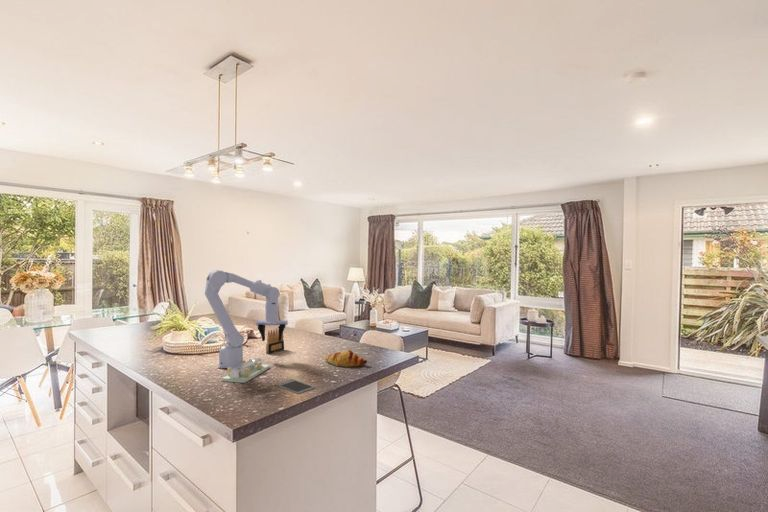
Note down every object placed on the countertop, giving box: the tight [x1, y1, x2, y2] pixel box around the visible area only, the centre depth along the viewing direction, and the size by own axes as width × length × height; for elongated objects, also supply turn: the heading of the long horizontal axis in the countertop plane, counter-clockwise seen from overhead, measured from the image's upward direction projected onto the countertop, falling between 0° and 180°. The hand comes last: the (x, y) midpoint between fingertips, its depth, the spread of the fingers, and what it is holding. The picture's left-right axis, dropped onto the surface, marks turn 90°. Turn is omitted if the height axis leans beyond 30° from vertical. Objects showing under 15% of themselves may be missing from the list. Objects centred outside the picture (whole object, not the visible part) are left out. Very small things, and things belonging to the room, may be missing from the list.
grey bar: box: [230, 357, 262, 379], centre depth 152 cm, size 18×5×3 cm, turn 169°
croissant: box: [324, 349, 368, 368], centre depth 166 cm, size 21×10×8 cm, turn 70°
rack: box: [221, 360, 271, 384], centre depth 152 cm, size 10×20×4 cm, turn 169°
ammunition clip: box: [265, 327, 285, 355], centre depth 188 cm, size 11×2×12 cm, turn 150°
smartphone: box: [274, 378, 316, 395], centre depth 137 cm, size 15×8×1 cm, turn 50°
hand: (271, 340), depth 173 cm, fingers open, 7 cm apart
